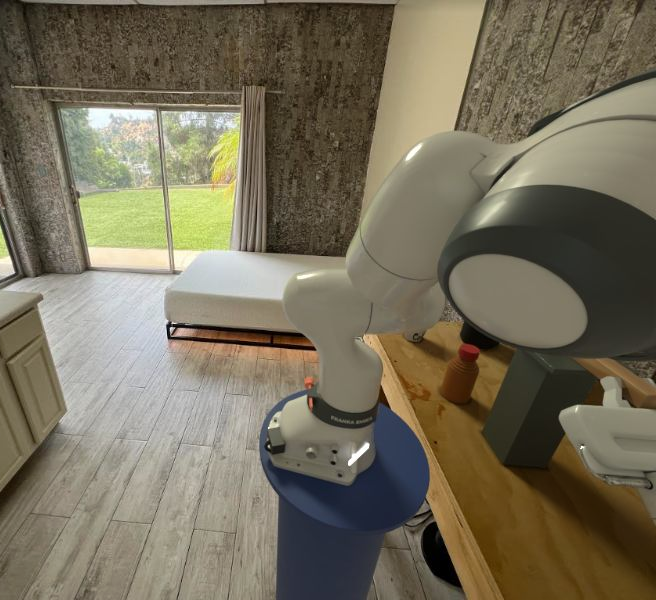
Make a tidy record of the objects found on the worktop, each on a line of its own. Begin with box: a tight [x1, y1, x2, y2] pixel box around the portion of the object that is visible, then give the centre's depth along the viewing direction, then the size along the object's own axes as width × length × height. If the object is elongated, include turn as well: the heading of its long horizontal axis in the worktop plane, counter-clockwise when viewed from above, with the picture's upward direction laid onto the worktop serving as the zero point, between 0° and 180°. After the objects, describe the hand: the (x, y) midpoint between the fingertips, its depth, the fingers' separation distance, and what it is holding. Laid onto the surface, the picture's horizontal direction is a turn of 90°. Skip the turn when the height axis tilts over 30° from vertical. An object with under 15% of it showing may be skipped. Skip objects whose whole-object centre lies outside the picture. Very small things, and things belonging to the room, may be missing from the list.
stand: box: [481, 348, 640, 469], centre depth 60 cm, size 12×12×26 cm
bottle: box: [439, 355, 480, 405], centre depth 78 cm, size 6×6×14 cm
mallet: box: [572, 358, 656, 409], centre depth 49 cm, size 5×20×5 cm, turn 174°
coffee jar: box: [459, 319, 501, 351], centre depth 99 cm, size 11×11×18 cm
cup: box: [403, 329, 428, 343], centre depth 103 cm, size 8×8×10 cm
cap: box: [457, 343, 481, 362], centre depth 75 cm, size 4×4×2 cm
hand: (624, 378), depth 45 cm, fingers closed on mallet, 2 cm apart
